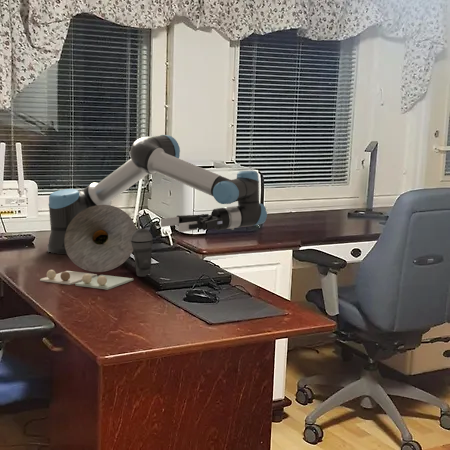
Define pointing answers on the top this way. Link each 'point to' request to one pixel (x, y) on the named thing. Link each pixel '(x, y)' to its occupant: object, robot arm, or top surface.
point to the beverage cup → (142, 250)
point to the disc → (99, 238)
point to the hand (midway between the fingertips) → (169, 225)
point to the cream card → (71, 280)
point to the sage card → (108, 284)
